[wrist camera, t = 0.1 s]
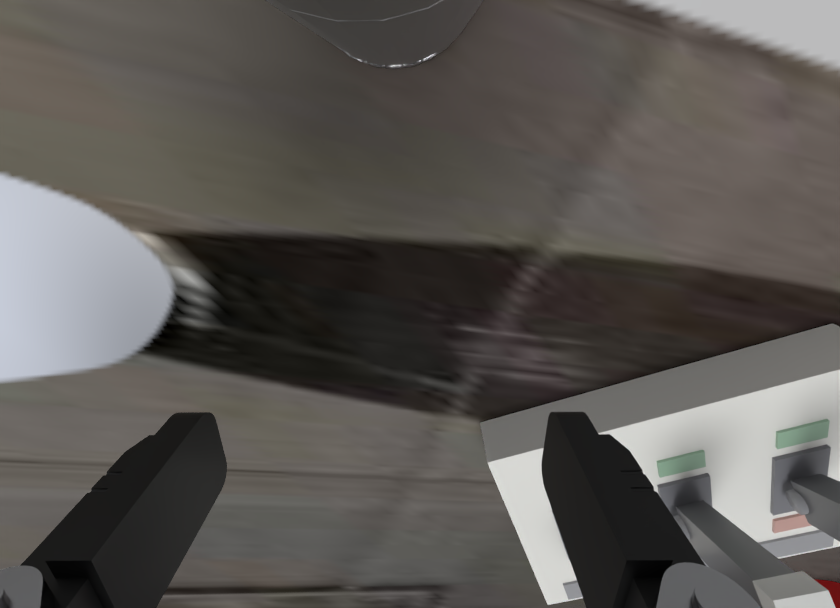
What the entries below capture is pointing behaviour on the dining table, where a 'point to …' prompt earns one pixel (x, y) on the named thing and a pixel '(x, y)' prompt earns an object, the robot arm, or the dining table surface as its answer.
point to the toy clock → (832, 590)
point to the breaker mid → (748, 561)
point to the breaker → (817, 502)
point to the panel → (693, 445)
